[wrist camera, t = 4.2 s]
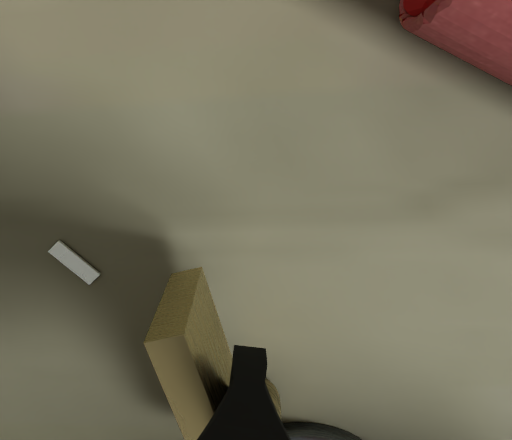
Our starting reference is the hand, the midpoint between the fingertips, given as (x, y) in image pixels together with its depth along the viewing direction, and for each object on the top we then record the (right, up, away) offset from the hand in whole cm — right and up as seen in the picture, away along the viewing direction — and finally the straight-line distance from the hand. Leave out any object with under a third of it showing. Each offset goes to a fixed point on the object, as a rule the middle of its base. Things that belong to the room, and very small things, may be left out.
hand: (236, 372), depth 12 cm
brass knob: (-1, 0, +3) cm, 3 cm away
